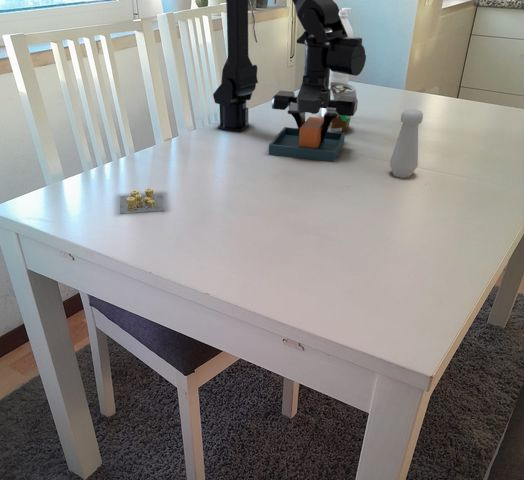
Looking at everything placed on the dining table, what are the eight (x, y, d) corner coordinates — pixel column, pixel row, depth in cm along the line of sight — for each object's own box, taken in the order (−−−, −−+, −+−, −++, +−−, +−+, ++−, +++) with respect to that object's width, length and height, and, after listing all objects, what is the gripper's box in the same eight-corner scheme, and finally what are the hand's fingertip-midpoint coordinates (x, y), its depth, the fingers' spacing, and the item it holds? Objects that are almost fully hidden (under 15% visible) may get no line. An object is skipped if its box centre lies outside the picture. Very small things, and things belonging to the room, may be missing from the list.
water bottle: (341, 121, 146) (352, 12, 130) (318, 118, 148) (326, 11, 132) (349, 112, 152) (360, 8, 137) (326, 110, 154) (335, 7, 138)
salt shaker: (418, 172, 117) (430, 108, 109) (412, 181, 113) (425, 115, 105) (391, 167, 119) (402, 104, 111) (385, 176, 115) (395, 111, 107)
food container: (355, 137, 135) (360, 94, 129) (330, 136, 135) (334, 93, 129) (350, 122, 145) (354, 82, 139) (327, 122, 145) (330, 81, 139)
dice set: (128, 210, 100) (126, 200, 99) (127, 199, 104) (126, 189, 103) (155, 208, 101) (154, 198, 100) (154, 197, 105) (153, 188, 103)
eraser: (298, 150, 125) (299, 128, 121) (308, 137, 132) (309, 116, 129) (316, 152, 124) (317, 130, 121) (325, 139, 131) (326, 118, 128)
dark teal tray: (268, 154, 125) (268, 144, 123) (284, 136, 135) (284, 126, 134) (333, 161, 121) (334, 151, 120) (344, 142, 132) (345, 133, 131)
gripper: (265, 73, 114) (264, 148, 123) (353, 80, 110) (345, 157, 119) (279, 63, 122) (277, 134, 132) (361, 68, 118) (353, 142, 128)
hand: (312, 141), depth 127 cm, fingers closed on eraser, 4 cm apart
